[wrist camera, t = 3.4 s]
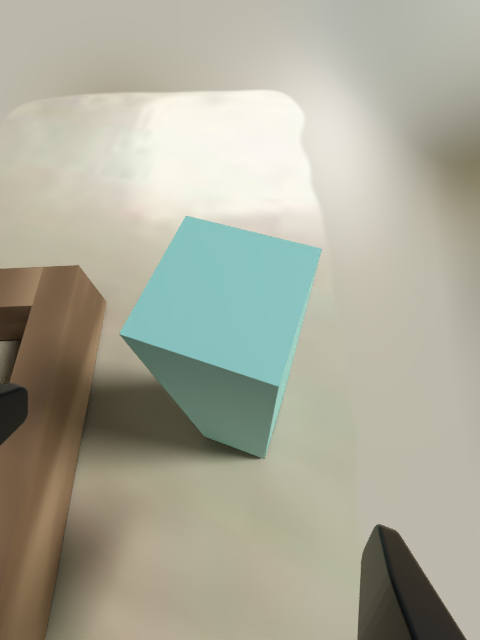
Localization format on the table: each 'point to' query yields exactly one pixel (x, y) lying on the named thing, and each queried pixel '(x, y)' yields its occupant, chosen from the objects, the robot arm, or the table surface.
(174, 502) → the table surface
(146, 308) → the teal square peg
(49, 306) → the bore block
